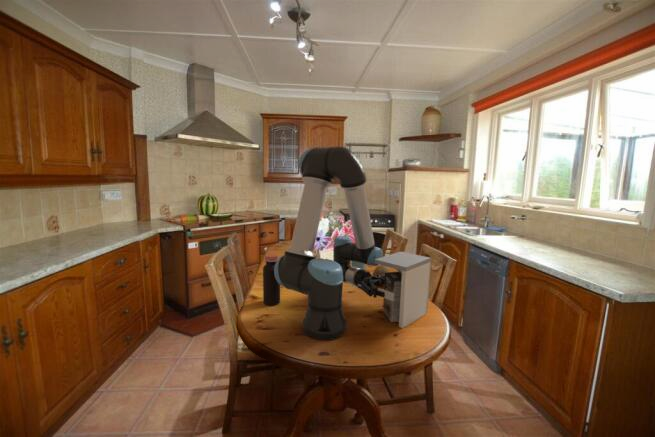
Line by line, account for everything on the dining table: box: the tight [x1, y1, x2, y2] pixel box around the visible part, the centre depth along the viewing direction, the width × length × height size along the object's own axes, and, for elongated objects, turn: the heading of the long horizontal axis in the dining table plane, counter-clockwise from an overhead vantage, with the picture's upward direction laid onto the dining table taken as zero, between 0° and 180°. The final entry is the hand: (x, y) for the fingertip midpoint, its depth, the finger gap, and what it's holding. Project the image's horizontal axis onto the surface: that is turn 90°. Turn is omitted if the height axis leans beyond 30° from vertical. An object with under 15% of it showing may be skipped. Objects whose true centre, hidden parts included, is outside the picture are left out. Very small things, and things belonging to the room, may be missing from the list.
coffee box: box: [382, 271, 402, 323], centre depth 113 cm, size 9×6×16 cm
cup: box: [350, 261, 367, 270], centre depth 163 cm, size 8×8×10 cm
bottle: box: [262, 253, 281, 307], centre depth 123 cm, size 7×7×20 cm
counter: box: [375, 251, 432, 329], centre depth 115 cm, size 18×13×22 cm
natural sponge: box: [371, 265, 392, 277], centre depth 146 cm, size 9×9×10 cm
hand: (403, 292), depth 111 cm, fingers open, 13 cm apart
